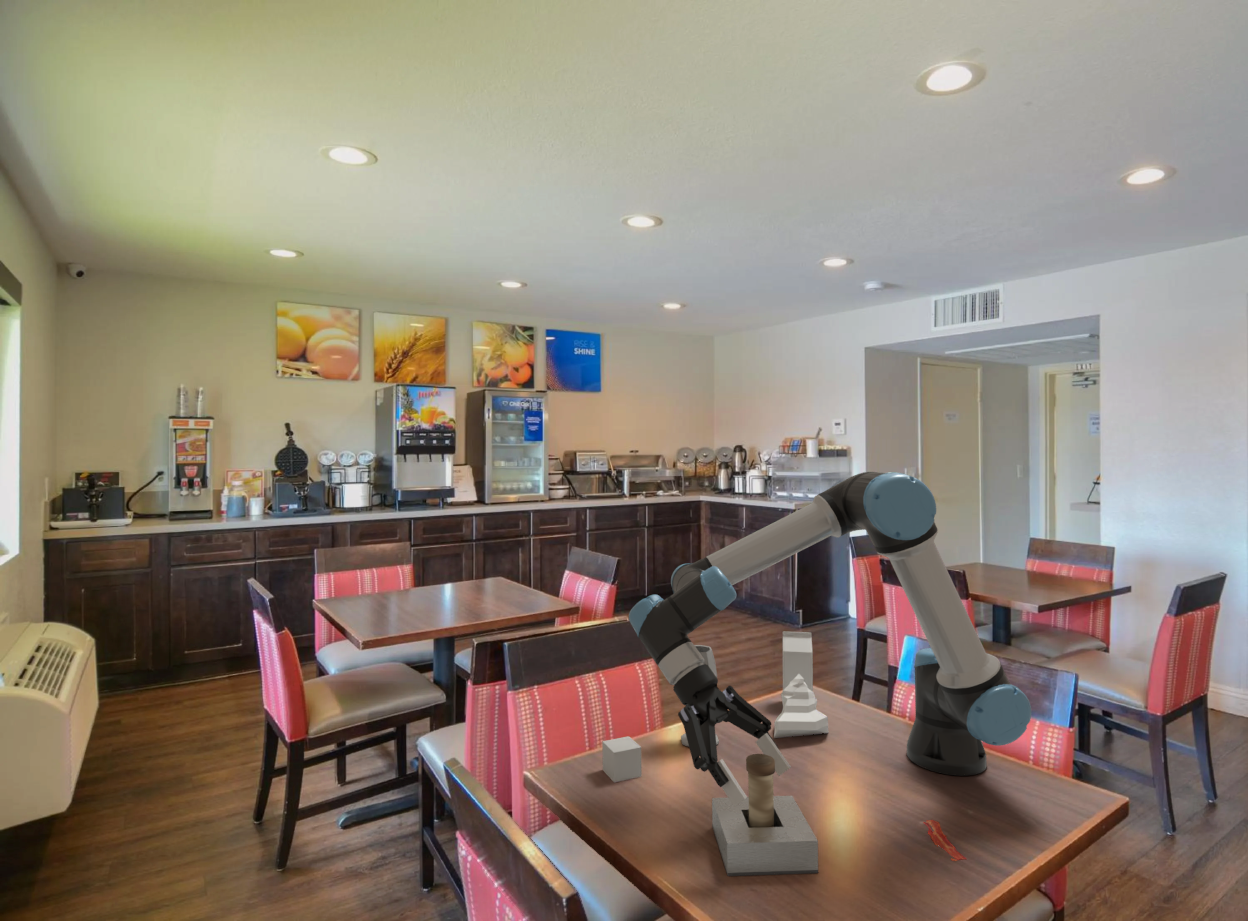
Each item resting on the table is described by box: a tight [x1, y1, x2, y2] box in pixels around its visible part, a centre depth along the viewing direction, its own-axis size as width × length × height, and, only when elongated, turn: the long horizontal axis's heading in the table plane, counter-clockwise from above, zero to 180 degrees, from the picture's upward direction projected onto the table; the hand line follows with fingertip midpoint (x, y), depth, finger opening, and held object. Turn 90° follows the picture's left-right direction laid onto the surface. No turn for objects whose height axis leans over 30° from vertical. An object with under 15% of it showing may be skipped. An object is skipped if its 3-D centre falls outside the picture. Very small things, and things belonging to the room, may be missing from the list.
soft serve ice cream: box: [773, 674, 829, 739], centre depth 159 cm, size 12×15×14 cm
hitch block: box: [711, 795, 819, 877], centre depth 112 cm, size 14×14×5 cm
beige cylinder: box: [745, 753, 776, 828], centre depth 112 cm, size 5×5×14 cm
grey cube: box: [601, 735, 642, 783], centre depth 139 cm, size 6×6×6 cm
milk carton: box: [782, 631, 814, 692], centre depth 175 cm, size 7×7×19 cm
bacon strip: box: [922, 819, 967, 862], centre depth 116 cm, size 4×15×1 cm, turn 179°
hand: (764, 786), depth 112 cm, fingers open, 13 cm apart
